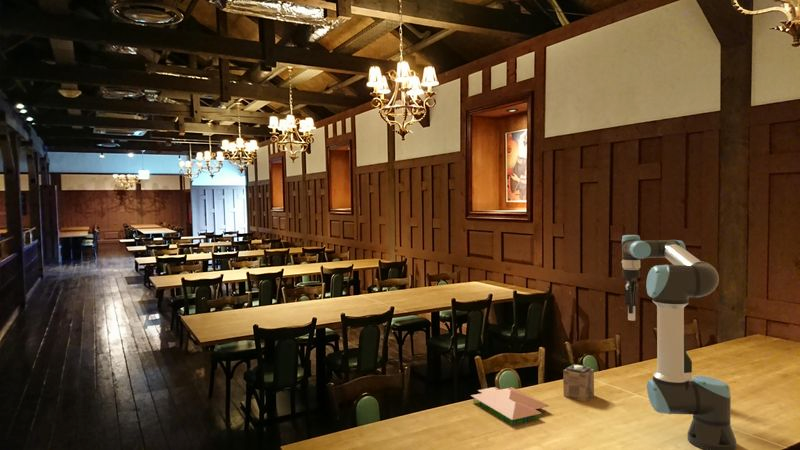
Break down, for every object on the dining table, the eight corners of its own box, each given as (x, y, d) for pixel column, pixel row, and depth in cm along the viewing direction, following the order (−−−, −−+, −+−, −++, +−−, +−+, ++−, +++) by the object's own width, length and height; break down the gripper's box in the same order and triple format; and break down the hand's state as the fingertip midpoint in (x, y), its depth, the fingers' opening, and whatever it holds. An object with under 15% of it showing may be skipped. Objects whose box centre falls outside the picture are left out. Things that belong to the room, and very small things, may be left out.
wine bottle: (695, 401, 223) (695, 333, 223) (675, 400, 225) (674, 333, 224) (688, 394, 232) (688, 329, 231) (669, 394, 233) (668, 329, 233)
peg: (581, 394, 230) (580, 368, 230) (572, 392, 233) (572, 366, 233) (584, 392, 233) (584, 366, 233) (576, 390, 236) (576, 364, 236)
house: (508, 392, 241) (508, 375, 240) (557, 417, 211) (557, 397, 210) (467, 400, 231) (467, 382, 231) (512, 428, 201) (511, 407, 201)
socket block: (584, 401, 226) (584, 372, 226) (563, 396, 233) (563, 368, 233) (594, 395, 233) (593, 367, 233) (573, 390, 240) (572, 363, 240)
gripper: (627, 267, 239) (628, 316, 240) (617, 269, 230) (618, 321, 230) (644, 267, 234) (645, 318, 235) (635, 270, 225) (635, 323, 225)
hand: (631, 320), depth 232 cm, fingers closed
